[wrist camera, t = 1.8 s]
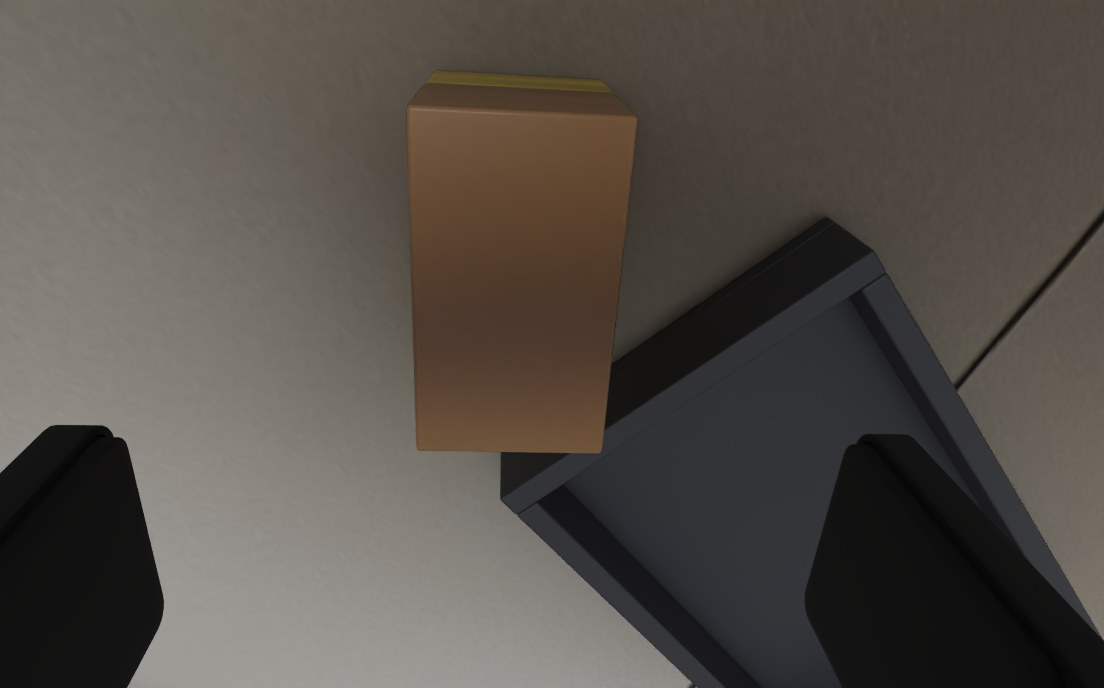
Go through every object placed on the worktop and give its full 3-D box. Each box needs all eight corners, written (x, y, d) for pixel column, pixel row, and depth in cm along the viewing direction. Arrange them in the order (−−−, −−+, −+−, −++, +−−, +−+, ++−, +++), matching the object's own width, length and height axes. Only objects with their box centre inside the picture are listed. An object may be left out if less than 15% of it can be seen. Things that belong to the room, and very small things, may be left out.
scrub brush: (433, 70, 19) (405, 104, 14) (602, 79, 19) (638, 116, 14) (437, 341, 23) (415, 452, 17) (579, 344, 23) (602, 454, 18)
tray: (500, 441, 24) (499, 499, 22) (826, 215, 21) (874, 249, 19) (781, 723, 32) (807, 793, 29) (1051, 585, 29) (1108, 648, 26)
